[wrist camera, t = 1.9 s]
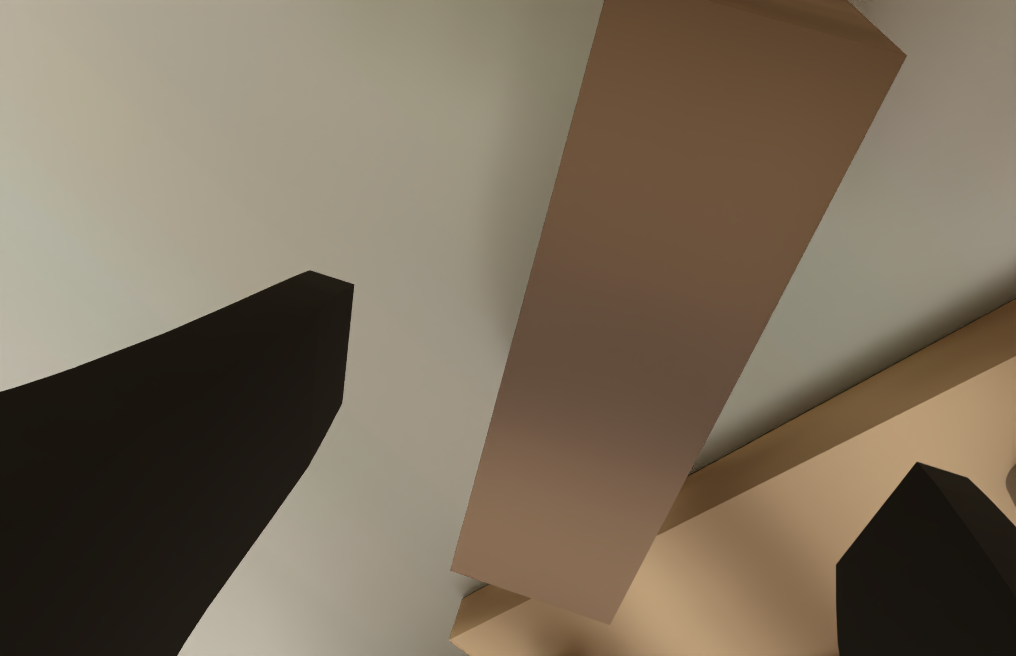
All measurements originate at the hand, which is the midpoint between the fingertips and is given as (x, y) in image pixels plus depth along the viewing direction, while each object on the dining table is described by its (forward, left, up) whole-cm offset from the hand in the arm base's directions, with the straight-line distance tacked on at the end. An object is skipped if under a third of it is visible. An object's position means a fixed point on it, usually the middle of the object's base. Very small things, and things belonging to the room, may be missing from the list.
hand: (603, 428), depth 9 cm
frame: (0, 0, -7) cm, 7 cm away
